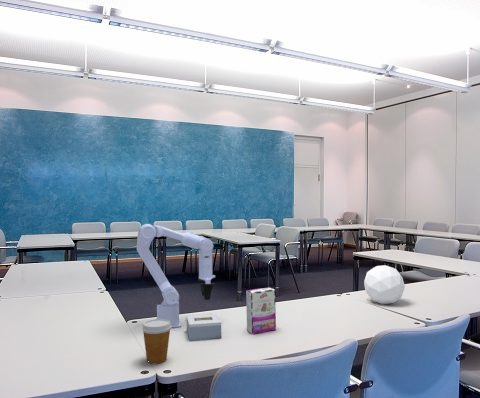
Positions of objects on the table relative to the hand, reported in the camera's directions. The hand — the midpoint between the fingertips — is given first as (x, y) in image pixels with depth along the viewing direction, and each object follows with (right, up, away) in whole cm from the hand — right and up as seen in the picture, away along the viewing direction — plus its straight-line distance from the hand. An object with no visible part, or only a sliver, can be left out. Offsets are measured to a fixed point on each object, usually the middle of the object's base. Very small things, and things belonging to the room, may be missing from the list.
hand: (206, 297), depth 166 cm
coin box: (0, -10, -16) cm, 19 cm away
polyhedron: (+88, -11, +30) cm, 94 cm away
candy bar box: (+23, -10, -12) cm, 28 cm away
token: (0, -9, -16) cm, 19 cm away
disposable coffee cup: (-12, -10, -41) cm, 44 cm away
